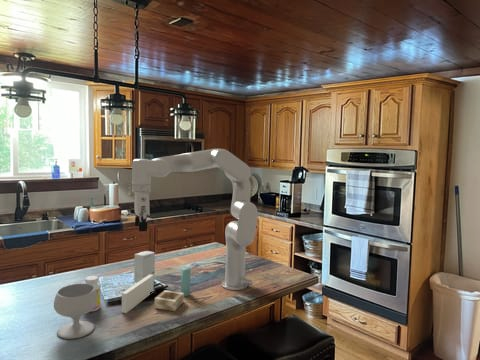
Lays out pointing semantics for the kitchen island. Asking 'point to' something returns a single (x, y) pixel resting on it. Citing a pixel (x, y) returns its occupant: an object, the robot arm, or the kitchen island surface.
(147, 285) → the wall
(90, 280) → the supplement bottle
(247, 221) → the robot arm
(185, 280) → the dowel
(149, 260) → the skincare box
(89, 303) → the chalice
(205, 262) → the kitchen island surface
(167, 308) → the light wooden square frame
